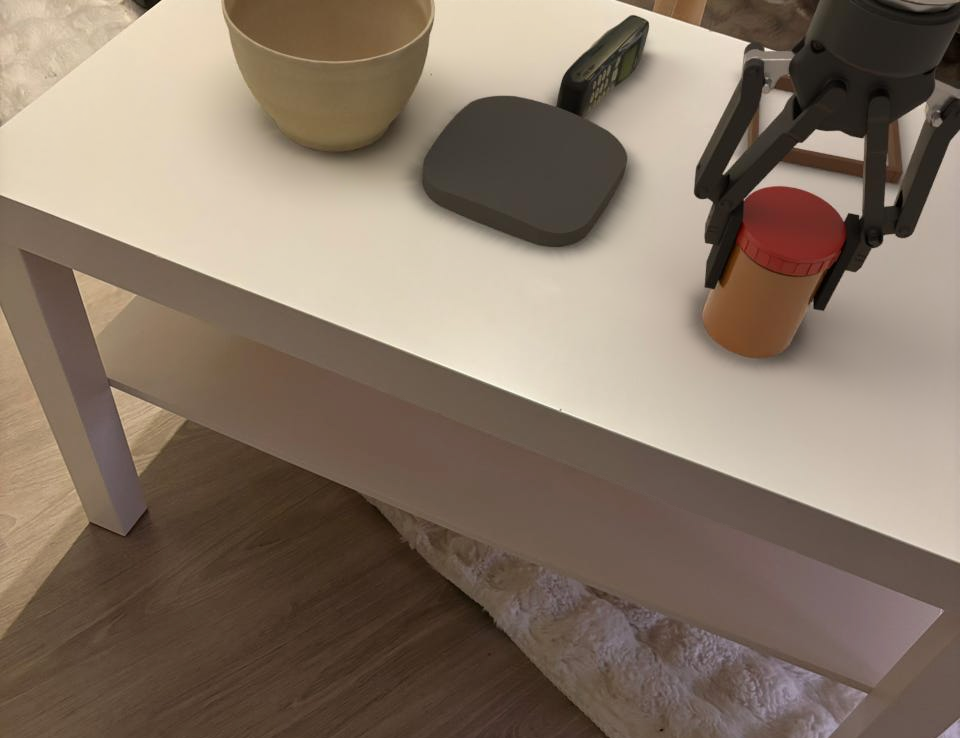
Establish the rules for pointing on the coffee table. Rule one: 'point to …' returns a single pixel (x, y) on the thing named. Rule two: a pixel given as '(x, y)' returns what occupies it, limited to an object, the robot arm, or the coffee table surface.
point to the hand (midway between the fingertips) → (764, 285)
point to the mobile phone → (603, 66)
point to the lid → (791, 231)
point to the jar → (757, 306)
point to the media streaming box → (525, 169)
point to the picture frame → (832, 161)
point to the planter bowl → (331, 64)
